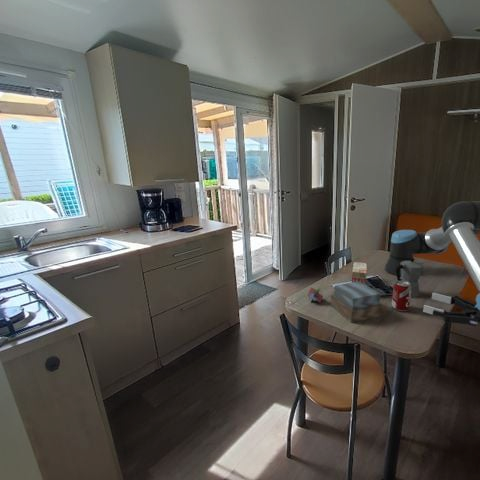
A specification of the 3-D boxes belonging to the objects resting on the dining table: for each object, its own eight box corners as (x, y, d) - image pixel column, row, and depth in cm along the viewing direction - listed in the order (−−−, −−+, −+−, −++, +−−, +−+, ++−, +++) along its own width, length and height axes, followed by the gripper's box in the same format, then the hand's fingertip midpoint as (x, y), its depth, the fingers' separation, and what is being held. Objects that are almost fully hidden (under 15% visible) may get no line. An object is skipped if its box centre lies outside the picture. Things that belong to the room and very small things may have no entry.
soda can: (392, 311, 124) (395, 285, 120) (390, 303, 130) (393, 279, 126) (410, 313, 121) (413, 287, 118) (407, 305, 127) (410, 280, 124)
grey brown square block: (358, 299, 134) (360, 280, 132) (382, 315, 120) (384, 294, 118) (330, 305, 131) (331, 285, 128) (351, 322, 117) (352, 300, 114)
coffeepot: (410, 287, 144) (415, 253, 139) (427, 295, 136) (432, 259, 131) (385, 292, 140) (389, 257, 135) (401, 301, 132) (405, 264, 127)
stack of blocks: (352, 277, 159) (354, 256, 155) (365, 279, 156) (366, 257, 153) (350, 294, 140) (352, 271, 136) (364, 296, 137) (366, 272, 134)
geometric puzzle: (329, 298, 133) (320, 282, 134) (321, 303, 128) (312, 287, 130) (318, 302, 138) (309, 287, 139) (310, 308, 133) (301, 292, 135)
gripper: (491, 345, 95) (418, 322, 110) (498, 315, 112) (434, 298, 127) (495, 326, 93) (420, 305, 108) (502, 298, 110) (436, 283, 124)
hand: (427, 301), depth 117 cm, fingers open, 13 cm apart
